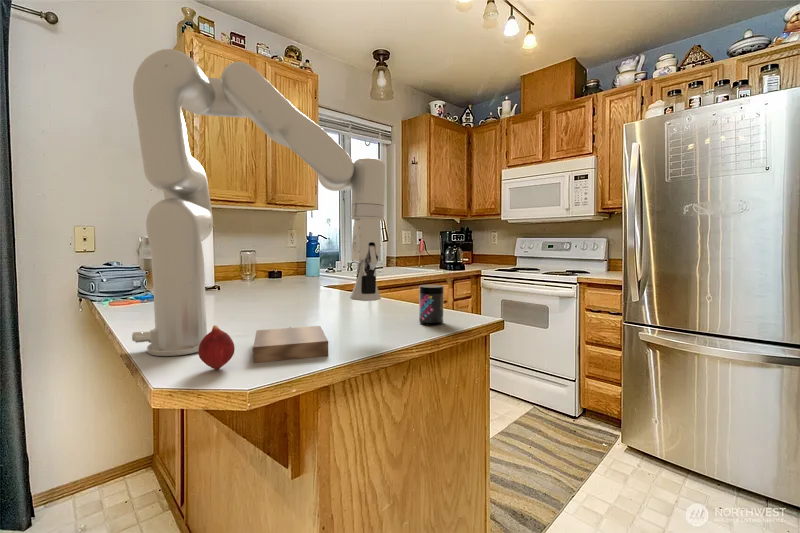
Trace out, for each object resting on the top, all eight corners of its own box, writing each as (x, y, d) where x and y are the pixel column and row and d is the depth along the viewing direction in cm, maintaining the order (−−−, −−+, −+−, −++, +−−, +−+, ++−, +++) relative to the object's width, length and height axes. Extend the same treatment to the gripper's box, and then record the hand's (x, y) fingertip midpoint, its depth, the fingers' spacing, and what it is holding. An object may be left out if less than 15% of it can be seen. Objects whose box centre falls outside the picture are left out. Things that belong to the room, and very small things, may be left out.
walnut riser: (253, 362, 73) (253, 347, 73) (256, 343, 86) (256, 330, 86) (328, 355, 77) (328, 340, 77) (320, 338, 91) (320, 325, 90)
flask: (379, 302, 87) (381, 258, 86) (347, 301, 87) (348, 257, 86) (381, 297, 94) (383, 256, 93) (352, 296, 94) (353, 255, 93)
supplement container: (418, 320, 110) (418, 284, 109) (441, 320, 110) (442, 284, 109) (419, 326, 103) (419, 287, 103) (444, 326, 103) (445, 287, 103)
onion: (242, 366, 71) (240, 323, 70) (217, 376, 66) (216, 330, 65) (217, 362, 73) (215, 321, 72) (191, 372, 67) (189, 327, 67)
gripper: (345, 214, 96) (343, 287, 97) (359, 210, 80) (357, 297, 81) (374, 216, 98) (372, 287, 99) (393, 212, 82) (391, 297, 83)
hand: (365, 291), depth 90 cm, fingers closed on flask, 4 cm apart
